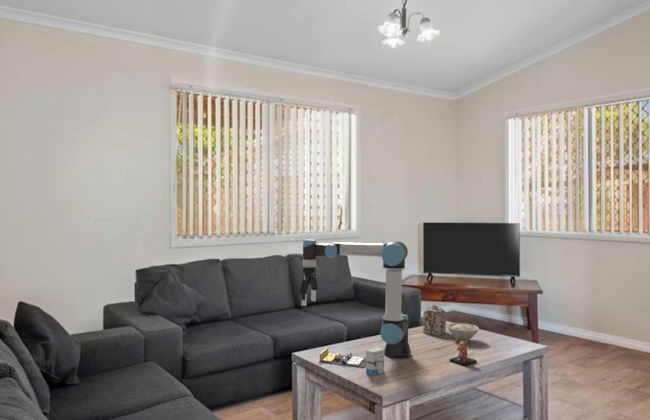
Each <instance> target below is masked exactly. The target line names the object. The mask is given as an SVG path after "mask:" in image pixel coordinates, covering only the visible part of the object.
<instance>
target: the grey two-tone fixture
mask: <svg viewBox="0 0 650 420" xmlns="http://www.w3.org/2000/svg"><path fill="white" fill-rule="evenodd" d="M343 357H346V355H342V354H341V358H340V359H339V360H337V361H336V360H334V361H333V362H332V363H331V362H323V361H320V360H319V361H318V362H319V363H322V364H332V365H340V366H345V365H346V363H347V362H348V361H349V360H350V359H348V361H347V362H346V363H345V364H342V363H341V359H342V358H343ZM363 358H364V360H363V362H362V363H361V364H360V365H359V366H354V365H346V366H347V367H355V368H360V369H361V368H362V369H365V368H366V357H363Z"/></svg>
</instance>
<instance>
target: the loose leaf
mask: <svg viewBox="0 0 650 420" xmlns="http://www.w3.org/2000/svg"><path fill="white" fill-rule="evenodd" d="M341 355H342V354H341V353H340V352H338V353H329V347H326V348H324V349H323V350H322V351H321V352H320V353H319V361H323V362H331V363H332V362H333V361H334V360H336V361H337V360H339V359H340V358H341Z"/></svg>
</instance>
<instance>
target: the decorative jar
mask: <svg viewBox="0 0 650 420" xmlns="http://www.w3.org/2000/svg"><path fill="white" fill-rule="evenodd" d="M422 317H423V320H422V321H423V322H422V323H423V325H422V326H423V327H422V331H423V334H425V335H427V334H428V335H431V336H432V335H433V336H438V337H439V336H441V335H443V334H445V333H446V332H447V329H446V328H447V312H446V310H444V309H443V308H441V307H439V305H436V304H432V305H431V306H430V307H426V308H425V310H424V312H423V316H422Z"/></svg>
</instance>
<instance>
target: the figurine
mask: <svg viewBox="0 0 650 420" xmlns="http://www.w3.org/2000/svg"><path fill="white" fill-rule="evenodd" d="M467 344H468V342H466V341H465V342H464V341H461V340H460V342H458V344H457V348H456V351H458V355H457V356H455V357H452V358H449V362H450V363H452V364H455V365H456V364H457V365H459V366H463V367H469V366H472V365H474V364H477V363H478V362H477V359H473V358H471V357H468V346H467ZM471 364H472V365H471Z"/></svg>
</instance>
